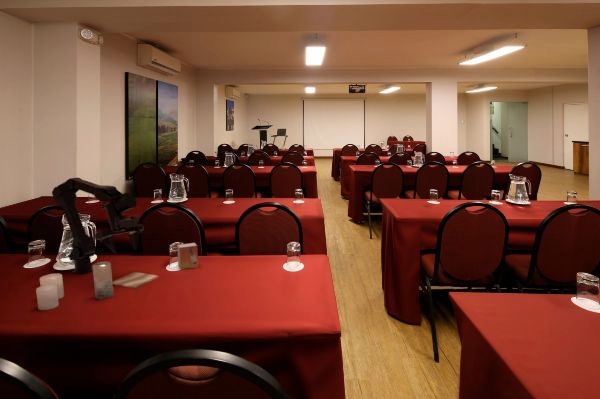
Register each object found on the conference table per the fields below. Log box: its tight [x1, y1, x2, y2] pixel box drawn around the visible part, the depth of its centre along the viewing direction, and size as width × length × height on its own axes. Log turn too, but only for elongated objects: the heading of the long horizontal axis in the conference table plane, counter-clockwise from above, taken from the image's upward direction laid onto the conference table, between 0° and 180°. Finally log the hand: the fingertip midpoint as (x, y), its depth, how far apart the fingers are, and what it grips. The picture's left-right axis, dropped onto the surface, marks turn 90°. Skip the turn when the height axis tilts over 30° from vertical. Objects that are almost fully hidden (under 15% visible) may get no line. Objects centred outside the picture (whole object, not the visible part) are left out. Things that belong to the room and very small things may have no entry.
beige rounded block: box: [39, 273, 65, 300], centre depth 142 cm, size 7×7×8 cm
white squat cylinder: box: [35, 284, 60, 311], centre depth 134 cm, size 6×6×7 cm
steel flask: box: [92, 261, 114, 300], centre depth 143 cm, size 6×6×12 cm
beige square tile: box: [112, 271, 159, 289], centre depth 159 cm, size 13×13×1 cm
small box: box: [176, 242, 199, 270], centre depth 174 cm, size 8×6×10 cm
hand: (125, 251), depth 156 cm, fingers open, 9 cm apart
